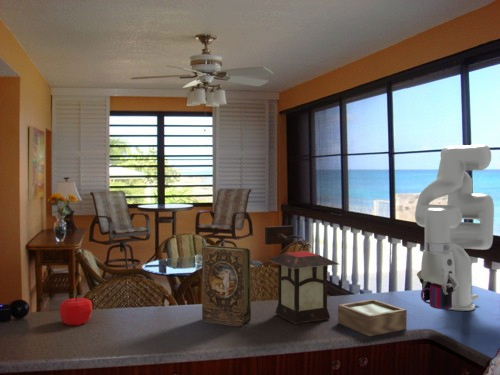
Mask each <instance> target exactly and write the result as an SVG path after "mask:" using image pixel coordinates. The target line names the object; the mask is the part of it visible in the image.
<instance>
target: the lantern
mask: <svg viewBox="0 0 500 375" xmlns="http://www.w3.org/2000/svg"><path fill="white" fill-rule="evenodd" d="M294 239H297V240H296V242H295V245H294V250H293V251H291V252H284V253H282V254H278V255H277V256H273V257H270V258H267V259H266V261H268V262H271V263H275V264H276V265H278V266H277V267H278V268H277V270H278V271H277V272H278V278H277V281H278V282H277V285H278V289H277V291H278V295H277V296H278V302H277V303H278V304H277V307H276V310H275V312H274V314H276V315H277V316H279V317H280V318H282V319H284V320H286V321H288V322H289V323H290V322H291V323H292V324H293V325H303V324H307V323H308V324H309V323H315V322H316V323H317V322H323V321H329V320H330V319H331V316H330V313H329V310H328V266H337V265H340V263H338V262H336V261H334V260H332V259H330V258H326V257H325V256H322V255H320V254H318V253H312V252H310V251H309V249H308V246H307V243H306V241H305V239H304V238H303V237H302V236H299V235H294V225H277V226H275V225H274V226H264V245H268V246H269V245H282V244H294ZM299 239H302V241H304V244H305V248H306V249H307V250H306V251H305V250H300V251H296V246H297V243H298V240H299Z"/></svg>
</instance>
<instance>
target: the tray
mask: <svg viewBox="0 0 500 375" xmlns="http://www.w3.org/2000/svg"><path fill="white" fill-rule="evenodd" d="M407 312H408V311H407V309H405V308H403V307H398V306H396V305H394V304H390V303H387V302H383V301H380V300H378V299H366V300H359V301H354V302H347V303H341V304H338V305H337V324H338V325H342V326H343V327H345V328H348V329H351V330H353V331H355V332H357V333H361V334H363V335H365V336H368V337H373V336H378V335H383V334H388V333H394V332H399V331H403V330H406V329H407V322H408V320H407V317H408V316H407V314H408V313H407Z"/></svg>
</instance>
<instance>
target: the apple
mask: <svg viewBox="0 0 500 375" xmlns="http://www.w3.org/2000/svg"><path fill="white" fill-rule="evenodd" d="M77 296H78V293H76V292H73V297H74V298H67V299H64V301H62V302H61V303H60V305H59V315H60V319H61V322H62V323H64V324H65V325H68V326H81V325H85V324H86V322H88V321H89V320H90V318H91V316H92V311H93V303H92V300H90V299H88V298H85V297H77Z"/></svg>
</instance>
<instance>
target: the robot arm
mask: <svg viewBox="0 0 500 375" xmlns="http://www.w3.org/2000/svg"><path fill="white" fill-rule="evenodd" d="M491 161H492V151H491V148H490V147H489V146H488V145H486V144H470V145H468V144H467V145H464V144H463V145H459V144H458V145H448V146H445V147H443V148H442V149H441V151H440V161H439V164H438V165H439V166H438V170H437V176H436V179H435V180H434V181H432V182H430V184H428V185H427V186H426V187H425V188H424V189H423V190H422V191H420V194H419V195H418V197H417V202H416V206H415V211H414V220H415V222H416V224H417V225H418V226H420V227H422V228H424V249H423V252H422V257H421V269H420V270H419V271H418V272H417V273H416V276H417V277H418V280H419V282H420V283H421V287H422V289H424V288H430V284H431V283H435V284H439V285H441V286H442V289H443V292H444V294H443V295H442V306H443V307H447V306H450V305H451V293H452V308H450V309H449V310H451V311H458V312H459V311H460V312H464V311H465V312H466V311H467V312H468V311H473V310H475V308H476V304H474V303H473V301H475V300H478V299H479V295H478V294H471V293H472V292H471V291H472V290H471V288H472V287H471V284H472V260H471V258H470V256H469V254H468V252H466V250H465V249H469V250H470V249H471V250H490V248H492V245H493V241H494V221H495V220H494V218H495V216H494V215H495V202H494V200H493V197H492V196H490V195H489V194H486V193H473V191H474V190H473V185H474V181H473V179H472V177H471V176H470V174H469V173H468V172H467V171H485V169H487V168H488V167H489V166H490V164H491ZM444 196H445V197H446V196H447V204H431V203H432V202H433V201H434V200H437V199H440V198H442V197H444ZM462 220H475V221H476V220H477V221H479V222H467V221H466V222H465V221H462ZM446 286H447V288H448V289H447V288H446ZM423 298H424V300H425V301H427V302H429V301H430V290H428V289H427V290H425V291H424V293H423Z"/></svg>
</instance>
